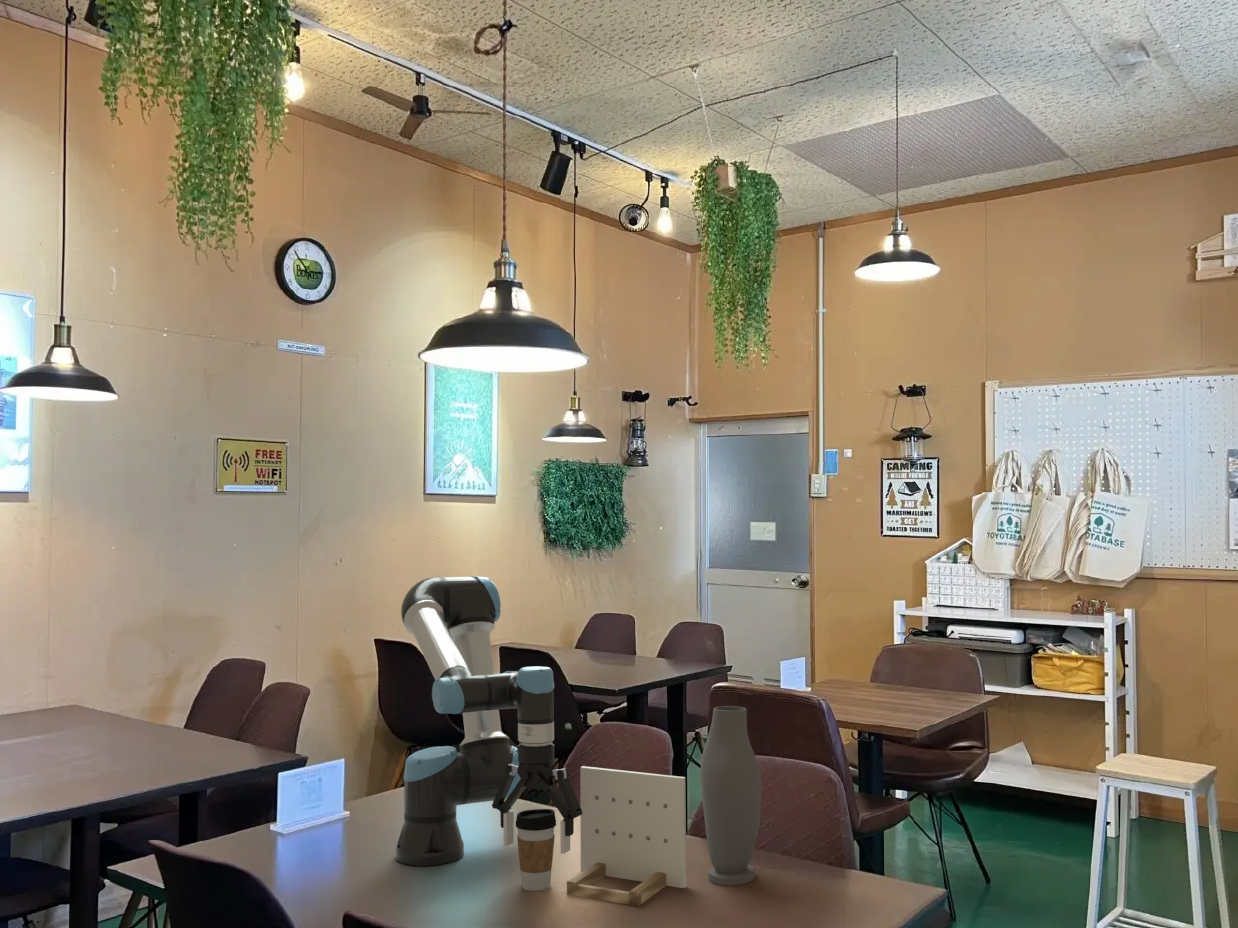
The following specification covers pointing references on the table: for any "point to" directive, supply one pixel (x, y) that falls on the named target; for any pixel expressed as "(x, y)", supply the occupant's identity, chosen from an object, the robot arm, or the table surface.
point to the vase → (730, 797)
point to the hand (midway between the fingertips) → (536, 847)
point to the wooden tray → (635, 897)
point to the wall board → (633, 824)
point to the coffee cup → (535, 847)
